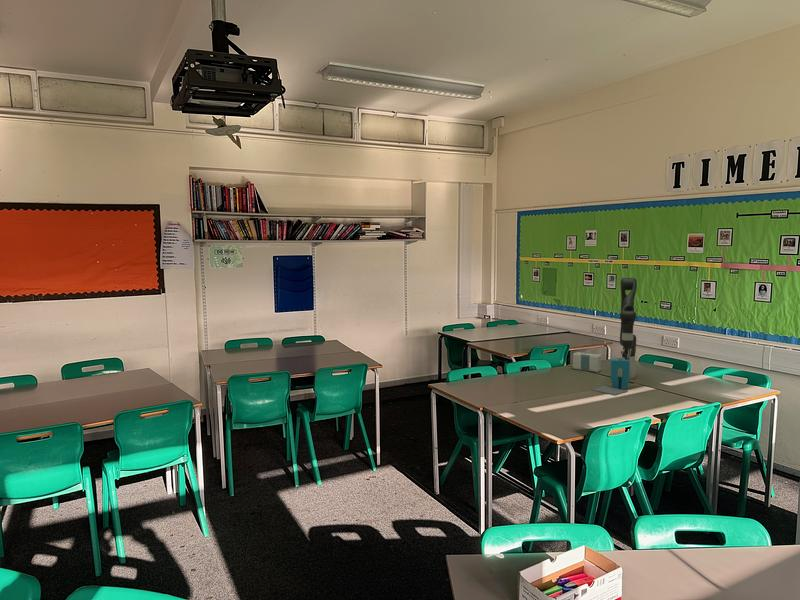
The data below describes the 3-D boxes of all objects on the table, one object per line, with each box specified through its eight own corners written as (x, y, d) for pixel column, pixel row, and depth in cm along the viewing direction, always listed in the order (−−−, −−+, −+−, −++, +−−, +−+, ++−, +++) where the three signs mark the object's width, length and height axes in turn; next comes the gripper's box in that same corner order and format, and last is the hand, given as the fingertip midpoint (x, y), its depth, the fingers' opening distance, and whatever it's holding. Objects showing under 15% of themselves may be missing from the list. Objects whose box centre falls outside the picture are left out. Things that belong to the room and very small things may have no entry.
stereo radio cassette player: (572, 369, 446) (572, 345, 444) (576, 367, 452) (576, 343, 450) (598, 373, 433) (598, 347, 431) (601, 371, 439) (602, 346, 437)
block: (628, 387, 388) (629, 359, 386) (629, 389, 384) (629, 361, 382) (610, 386, 392) (610, 358, 390) (610, 388, 387) (611, 360, 385)
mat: (604, 386, 392) (604, 385, 392) (627, 391, 378) (627, 390, 378) (591, 390, 384) (591, 389, 384) (615, 395, 369) (615, 394, 369)
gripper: (627, 337, 396) (627, 361, 398) (617, 339, 389) (616, 363, 390) (637, 338, 390) (637, 362, 392) (627, 340, 383) (626, 365, 384)
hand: (626, 363), depth 391 cm, fingers closed
